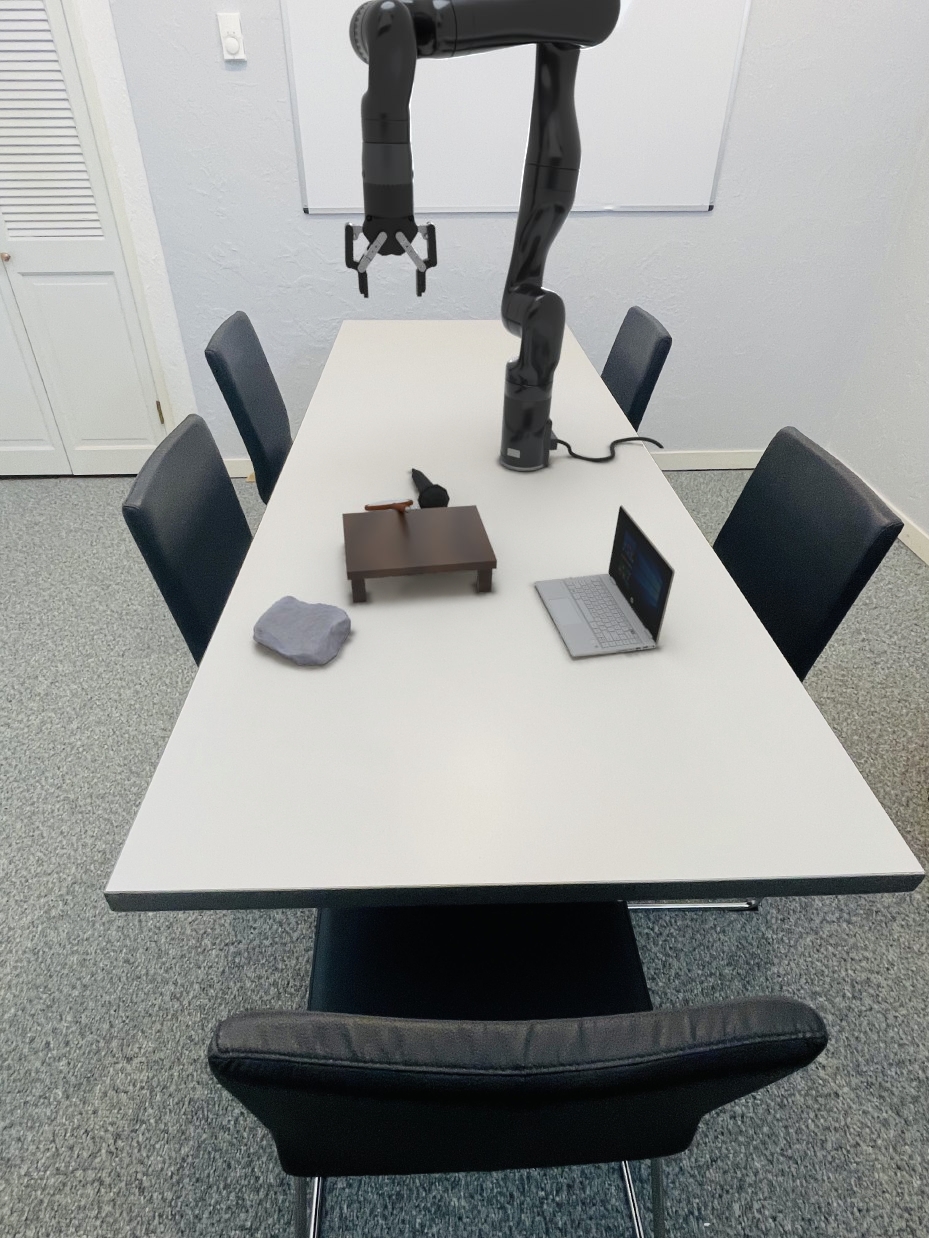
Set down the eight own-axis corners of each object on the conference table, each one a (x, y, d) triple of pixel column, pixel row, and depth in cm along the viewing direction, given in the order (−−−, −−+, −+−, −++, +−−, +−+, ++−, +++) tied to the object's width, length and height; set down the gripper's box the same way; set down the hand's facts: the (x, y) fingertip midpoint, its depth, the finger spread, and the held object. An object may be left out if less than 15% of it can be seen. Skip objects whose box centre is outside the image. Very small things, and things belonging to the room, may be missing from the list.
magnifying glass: (380, 507, 109) (360, 502, 128) (382, 518, 110) (361, 512, 128) (434, 500, 111) (406, 496, 130) (435, 511, 112) (407, 505, 131)
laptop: (533, 585, 110) (541, 511, 103) (609, 577, 113) (622, 504, 105) (572, 660, 97) (584, 581, 89) (657, 648, 99) (676, 570, 91)
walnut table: (474, 536, 122) (476, 505, 118) (495, 593, 109) (497, 560, 105) (345, 545, 119) (342, 513, 115) (349, 605, 105) (346, 571, 102)
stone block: (325, 680, 95) (357, 626, 101) (317, 658, 91) (350, 603, 97) (249, 661, 98) (284, 610, 104) (238, 639, 94) (275, 587, 101)
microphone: (405, 487, 142) (428, 525, 125) (394, 462, 138) (417, 497, 122) (430, 477, 142) (457, 513, 125) (420, 450, 139) (446, 484, 122)
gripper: (432, 176, 109) (433, 290, 118) (338, 175, 106) (346, 291, 116) (439, 182, 103) (439, 301, 113) (340, 181, 101) (349, 303, 111)
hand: (392, 296), depth 115 cm, fingers open, 8 cm apart
